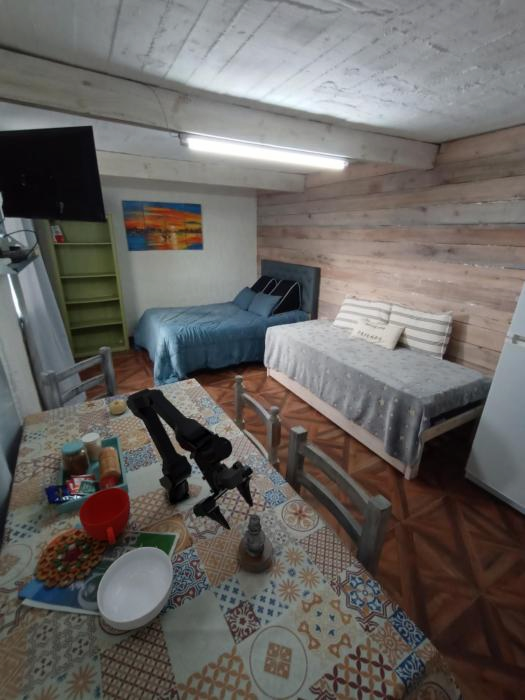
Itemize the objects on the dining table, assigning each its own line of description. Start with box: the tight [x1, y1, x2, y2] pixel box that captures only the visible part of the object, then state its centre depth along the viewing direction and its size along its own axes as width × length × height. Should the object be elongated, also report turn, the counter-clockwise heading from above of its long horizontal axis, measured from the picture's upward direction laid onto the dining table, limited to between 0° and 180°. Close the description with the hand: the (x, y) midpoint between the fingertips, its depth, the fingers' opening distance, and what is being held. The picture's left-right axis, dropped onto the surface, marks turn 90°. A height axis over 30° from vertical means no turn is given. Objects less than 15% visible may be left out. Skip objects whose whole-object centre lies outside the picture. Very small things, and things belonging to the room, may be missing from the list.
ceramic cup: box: [78, 487, 131, 545], centre depth 90 cm, size 13×17×10 cm
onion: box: [108, 398, 128, 415], centre depth 152 cm, size 8×8×7 cm
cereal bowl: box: [96, 546, 175, 631], centre depth 75 cm, size 17×17×7 cm
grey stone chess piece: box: [243, 513, 267, 557], centre depth 83 cm, size 6×6×12 cm
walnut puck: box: [238, 535, 273, 574], centre depth 86 cm, size 9×9×4 cm
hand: (241, 517), depth 85 cm, fingers open, 9 cm apart
